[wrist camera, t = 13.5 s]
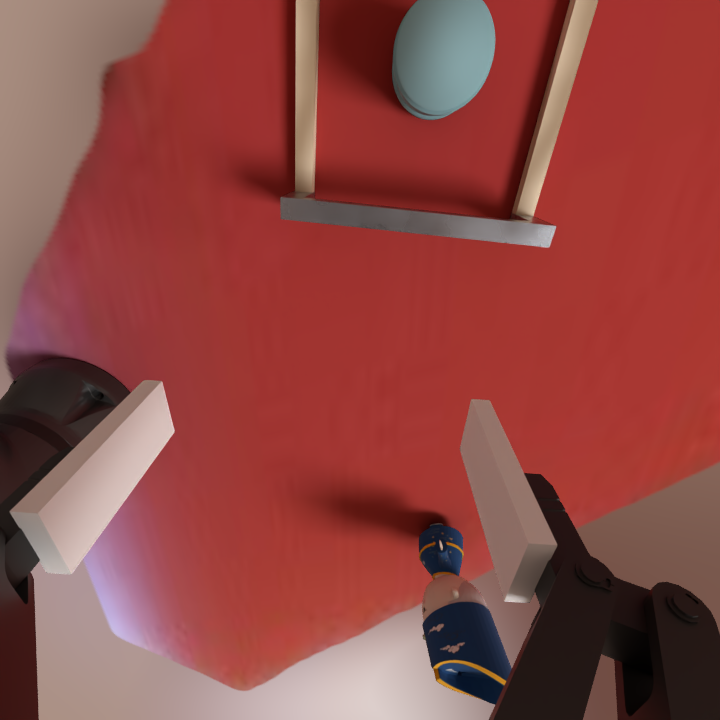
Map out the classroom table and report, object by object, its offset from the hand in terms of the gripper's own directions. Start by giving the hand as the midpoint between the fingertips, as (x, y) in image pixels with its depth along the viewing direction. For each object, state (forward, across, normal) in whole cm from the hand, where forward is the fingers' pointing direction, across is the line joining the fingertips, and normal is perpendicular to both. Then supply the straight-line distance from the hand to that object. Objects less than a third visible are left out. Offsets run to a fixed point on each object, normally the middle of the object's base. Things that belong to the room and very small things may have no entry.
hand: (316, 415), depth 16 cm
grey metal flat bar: (+24, +6, +6) cm, 25 cm away
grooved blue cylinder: (+24, +6, +16) cm, 29 cm away
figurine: (+24, +16, -38) cm, 47 cm away
